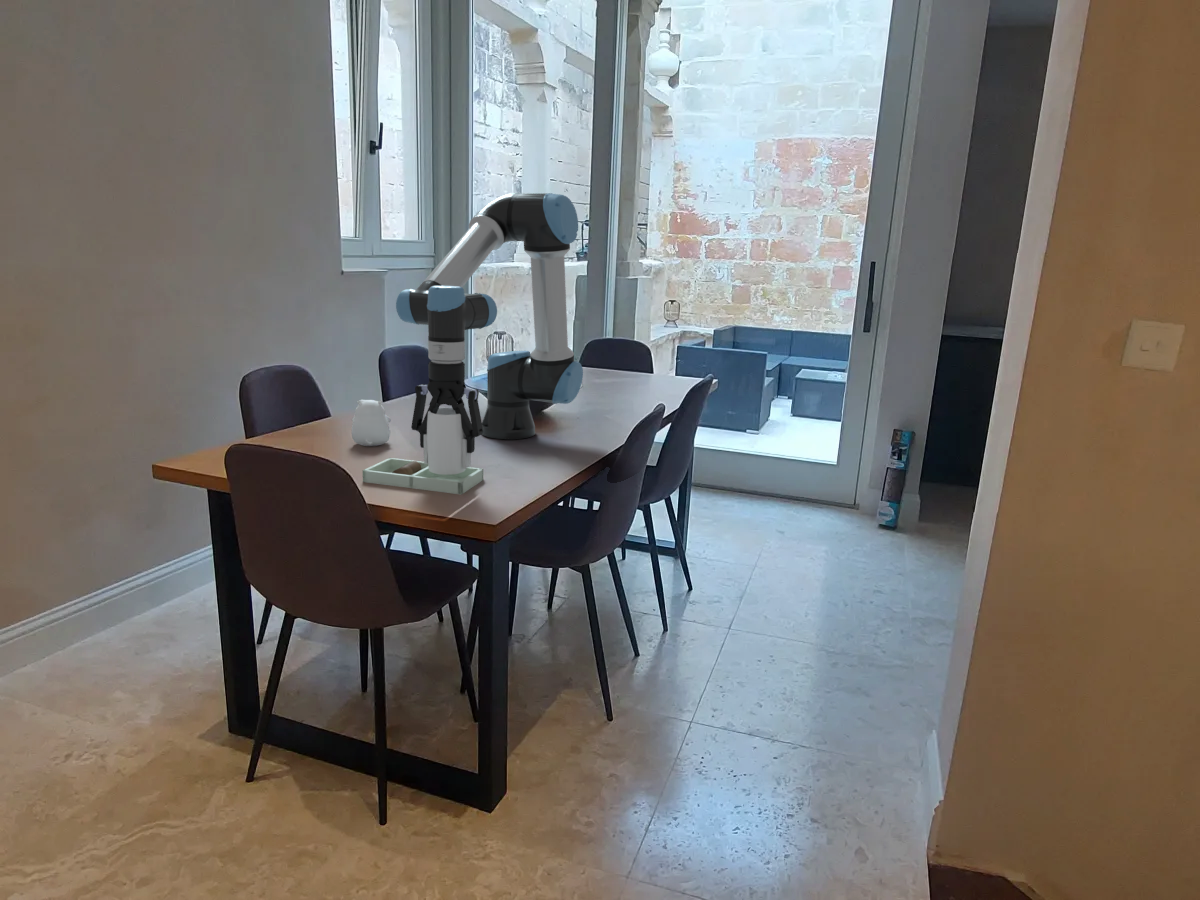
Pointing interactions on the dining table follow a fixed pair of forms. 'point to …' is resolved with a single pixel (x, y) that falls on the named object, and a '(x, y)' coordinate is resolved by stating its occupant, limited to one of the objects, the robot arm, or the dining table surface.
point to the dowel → (409, 468)
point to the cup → (444, 442)
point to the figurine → (370, 424)
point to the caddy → (422, 477)
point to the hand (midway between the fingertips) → (447, 464)
